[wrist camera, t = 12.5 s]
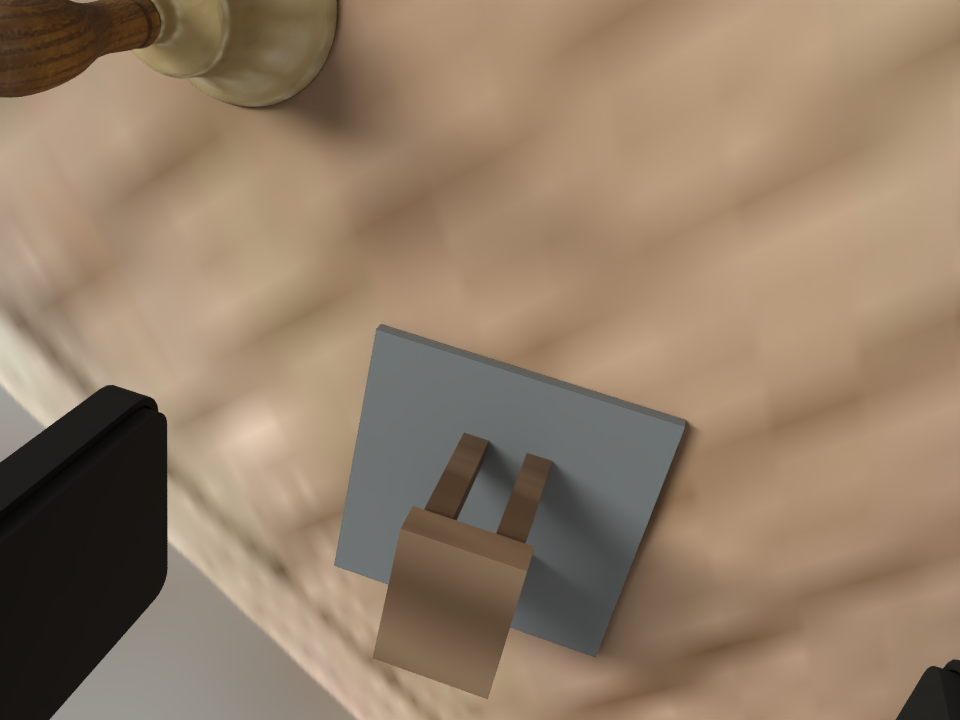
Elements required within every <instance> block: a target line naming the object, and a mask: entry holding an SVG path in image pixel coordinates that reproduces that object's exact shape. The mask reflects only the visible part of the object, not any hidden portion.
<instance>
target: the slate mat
mask: <svg viewBox="0 0 960 720" xmlns="http://www.w3.org/2000/svg"><path fill="white" fill-rule="evenodd" d="M685 423H686V420H684V419H680V418H677V417H674V416H671V415H668V414H665V413H661V412H658V411H655V410H652V409H649V408H645V407H642V406H639V405H636V404H633V403H630V402H626V401H623V400H620V399H617V398H614V397H611V396H607V395H604V394H601V393H598V392H595V391H592V390H588V389H585V388H582V387H579V386H576V385H572V384H569V383H566V382H563V381H560V380H557V379H553V378H550V377H547V376H544V375H541V374H538V373H534V372H531V371H528V370H525V369H522V368H519V367H515V366H512V365H509V364H506V363H503V362H499V361H496V360H493V359H490V358H487V357H484V356H480V355H477V354H474V353H471V352H468V351H465V350H461V349H458V348H455V347H452V346H449V345H446V344H442V343H439V342H436V341H433V340H430V339H426V338H423V337H420V336H417V335H414V334H411V333H407V332H404V331H401V330H398V329H395V328H392V327H388V326H385V325H382V324H381V325H380V326H379V327H378V328H377V329H376V334H375V339H374V345H373V350H372V356H371V362H370V367H369V373H368V379H367V384H366V390H365V395H364V401H363V407H362V412H361V418H360V423H359V429H358V435H357V440H356V446H355V451H354V457H353V463H352V468H351V474H350V479H349V485H348V491H347V496H346V502H345V507H344V513H343V519H342V524H341V530H340V536H339V541H338V547H337V552H336V558H335V564H334V566H337V567H340V568H343V569H345V570H348V571H351V572H354V573H357V574H360V575H362V576H365V577H368V578H371V579H374V580H377V581H380V582H382V583H385V584H388V585H389V580H390V575H391V571H392V566H393V561H394V557H395V552H396V547H397V542H398V538H399V533H400V528H401V527H402V525H403V523H404V521H405V519H406V517H407V516H408V514H409V512H410V510H411V508H412V506H415V507H418V508H420V509H423V510H424V508H425V506H426V505H427V503H428V501H429V499H430V497H431V495H432V493H433V491H434V489H435V487H436V485H437V483H438V481H439V480H440V478H441V476H442V474H443V472H444V470H445V468H446V466H447V464H448V462H449V460H450V458H451V456H452V454H453V453H454V451H455V449H456V447H457V445H458V443H459V441H460V439H461V437H462V435H463V433H467V434H470V435H473V436H476V437H479V438H482V439H486V440H489V442H488V446H487V450H486V454H485V458H484V462H483V464H482V466H481V468H480V471H479V473H478V475H477V477H476V479H475V482H474V484H473V486H472V488H471V490H470V492H469V495H468V497H467V499H466V501H465V503H464V506H463V508H462V510H461V512H460V514H459V517H458V519H457V521H459V522H462V523H465V524H468V525H471V526H474V527H477V528H480V529H483V530H486V531H489V532H492V533H495V534H496V532H497V529H498V527H499V524H500V522H501V519H502V516H503V514H504V511H505V509H506V506H507V503H508V501H509V498H510V496H511V493H512V490H513V488H514V485H515V482H516V480H517V477H518V475H519V472H520V469H521V467H522V464H523V462H524V459H525V456H526V454H527V453H529V454H532V455H535V456H538V457H542V458H545V459H548V460H551V461H552V464H551V467H550V470H549V474H548V477H547V480H546V484H545V487H544V490H543V493H542V496H541V499H540V502H539V505H538V508H537V511H536V514H535V517H534V520H533V523H532V526H531V529H530V532H529V535H528V538H527V541H526V544H528V545H531V546H534V547H535V548H534V551H533V554H532V558H531V561H530V564H529V567H528V571H527V574H526V577H525V580H524V583H523V587H522V590H521V593H520V596H519V600H518V603H517V606H516V609H515V613H514V616H513V619H512V622H511V625H510V627H511V628H513V629H516V630H519V631H522V632H525V633H528V634H531V635H533V636H536V637H539V638H542V639H545V640H548V641H551V642H553V643H556V644H559V645H562V646H565V647H568V648H570V649H573V650H576V651H579V652H582V653H585V654H588V655H590V656H593V657H596V655H597V652H598V650H599V647H600V645H601V642H602V639H603V637H604V634H605V632H606V629H607V627H608V624H609V621H610V619H611V616H612V614H613V611H614V609H615V606H616V603H617V601H618V598H619V596H620V593H621V591H622V588H623V585H624V583H625V580H626V578H627V575H628V573H629V570H630V567H631V565H632V562H633V560H634V557H635V555H636V552H637V549H638V547H639V544H640V542H641V539H642V537H643V534H644V531H645V529H646V526H647V524H648V521H649V519H650V516H651V513H652V511H653V508H654V506H655V503H656V501H657V498H658V495H659V493H660V490H661V488H662V485H663V483H664V480H665V478H666V475H667V472H668V470H669V467H670V465H671V462H672V460H673V457H674V454H675V452H676V449H677V447H678V444H679V442H680V439H681V436H682V434H683V431H684V429H685Z"/></svg>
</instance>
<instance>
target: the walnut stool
mask: <svg viewBox="0 0 960 720" xmlns="http://www.w3.org/2000/svg"><path fill="white" fill-rule="evenodd" d="M488 442H489V440H486V439H482V438H479V437H476V436H473V435H470V434H467V433H463V435H462V437H461V439H460V441H459V443H458V445H457V447H456V449H455V451H454V453H453V454H452V456H451V458H450V460H449V462H448V464H447V466H446V468H445V470H444V472H443V474H442V476H441V478H440V480H439V481H438V483H437V485H436V487H435V489H434V491H433V493H432V495H431V497H430V499H429V501H428V503H427V505H426V506H425V508H424V510H423V509H420V508H418V507H415V506H412V508H411V510H410V512H409V514H408V516H407V517H406V519H405V521H404V523H403V525H402V527H401V528H400V533H399V538H398V542H397V547H396V552H395V557H394V561H393V566H392V571H391V575H390V580H389V585H388V589H387V594H386V599H385V604H384V608H383V613H382V618H381V622H380V627H379V632H378V636H377V641H376V646H375V650H374V655H373V658H374V659H377V660H380V661H383V662H385V663H388V664H391V665H394V666H396V667H399V668H402V669H405V670H408V671H410V672H413V673H416V674H419V675H422V676H424V677H427V678H430V679H433V680H436V681H438V682H441V683H444V684H447V685H450V686H452V687H455V688H458V689H461V690H464V691H466V692H469V693H472V694H475V695H478V696H480V697H483V698H486V699H488V696H489V693H490V690H491V687H492V683H493V680H494V677H495V674H496V671H497V667H498V664H499V661H500V658H501V655H502V651H503V648H504V645H505V642H506V638H507V635H508V632H509V629H510V625H511V622H512V619H513V616H514V613H515V609H516V606H517V603H518V600H519V596H520V593H521V590H522V587H523V583H524V580H525V577H526V574H527V571H528V567H529V564H530V561H531V558H532V554H533V551H534V548H535V547H534V546H531V545H528V544H526V541H527V538H528V535H529V532H530V529H531V526H532V523H533V520H534V517H535V514H536V511H537V508H538V505H539V502H540V499H541V496H542V493H543V490H544V487H545V484H546V480H547V477H548V474H549V470H550V467H551V464H552V461H551V460H548V459H545V458H542V457H538V456H535V455H532V454H529V453H527V454H526V456H525V459H524V462H523V464H522V467H521V469H520V472H519V475H518V477H517V480H516V482H515V485H514V488H513V490H512V493H511V496H510V498H509V501H508V503H507V506H506V509H505V511H504V514H503V516H502V519H501V522H500V524H499V527H498V529H497V532H496V534H495V533H492V532H489V531H486V530H483V529H480V528H477V527H474V526H471V525H468V524H465V523H462V522H459V521H457V519H458V517H459V514H460V512H461V510H462V508H463V506H464V503H465V501H466V499H467V497H468V495H469V492H470V490H471V488H472V486H473V484H474V482H475V479H476V477H477V475H478V473H479V471H480V468H481V466H482V464H483V462H484V458H485V454H486V450H487V446H488Z"/></svg>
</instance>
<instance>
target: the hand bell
mask: <svg viewBox="0 0 960 720" xmlns="http://www.w3.org/2000/svg"><path fill="white" fill-rule="evenodd" d="M336 21H337V0H98V1H94V2H90V3H76V2H73V1H70V0H0V97H22V96H28V95H32V94H36V93H40V92H43V91H46V90H49V89H52V88H54V87H57V86H59V85H61V84H63V83H65V82H67V81H69V80H71V79H73V78H75V77H76V76H78V75H79V74H81V73H82V72H83V71H85V70H86V69H87V68H88V67H89V66H90V65H91V64H92V63H93V62H94V61H95V60H96V59H97V58H98V57H100V56H103V55H106V54H109V53H115V52H122V51H128V50H131V51H132V52H133V53H134V54H135V55H136V56H137V57H138V58H139V59H140V60H141V61H142V62H143V63H144V64H146V65H147V66H148V67H150V68H151V69H153V70H155V71H156V72H159V73H161V74H163V75H166V76H170V77H175V78H185V79H187V80H188V81H189V82H190V83H191V84H192V85H194V86H195V87H197V88H198V89H200V90H201V91H203V92H204V93H206V94H208V95H210V96H212V97H214V98H216V99H218V100H221V101H224V102H227V103H230V104H234V105H239V106H247V107H258V106H269V105H273V104H277V103H279V102H281V101H284V100H287V99H289V98H291V97H292V96H294V95H295V94H297V93H298V92H300V91H301V90H303V89H304V88H305V87H306V86H307V85H308V84H309V83H310V82H311V81H312V80H313V79H314V78H315V77H316V75H317V74H318V73H319V71H320V70H321V68H322V66H323V65H324V63H325V61H326V59H327V57H328V54H329V52H330V49H331V46H332V43H333V40H334V35H335V29H336Z"/></svg>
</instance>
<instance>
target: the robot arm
mask: <svg viewBox="0 0 960 720" xmlns="http://www.w3.org/2000/svg"><path fill="white" fill-rule="evenodd" d="M166 575H167V420H166V417H165V415H164V414H162V413H160V412H158V406H157V404H156V402H155V400H154V399H152V398H151V397H148V396H145V395H142V394H139V393H136V392H133V391H130V390H126V389H123V388H120V387H117V386H114V385H107V386H105V387H103V388H101V389H100V390H98V391H97V392H95V393H94V394H93V395H91V396H90V397H89V398H87V399H86V400H85V401H83V402H82V403H81V404H79V405H78V406H76V407H75V408H74V409H72V410H71V411H70V412H68V413H67V414H66V415H64V416H63V417H62V418H60V419H59V420H57V421H56V422H55V423H53V424H52V425H51V426H49V427H48V428H47V429H45V430H44V431H42V432H41V433H40V434H38V435H37V436H36V437H35V438H33V439H32V440H30V441H29V442H28V443H26V444H25V445H24V446H22V447H21V448H19V449H18V450H17V451H15V452H14V453H13V454H12V455H10V456H9V457H7V458H6V459H5V460H3V461H2V462H0V720H49V719H50V718H51V717H52V716H53V715H54V714H55V712H56V711H57V710H58V709H59V708H60V707H61V706H62V705H63V704H64V702H65V701H66V700H67V699H68V698H69V697H70V695H71V694H72V693H73V692H74V691H75V690H76V689H77V688H78V686H79V685H80V684H81V683H82V682H83V681H84V679H85V678H86V677H87V676H88V675H89V674H90V673H91V672H92V670H93V669H94V668H95V667H96V666H97V665H98V664H99V662H100V661H101V660H102V659H103V658H104V657H105V656H106V654H107V653H108V652H109V651H110V650H111V649H112V648H113V646H114V645H115V644H116V643H117V642H118V641H119V640H120V639H121V637H122V636H123V635H124V634H125V633H126V632H127V631H128V629H129V628H130V627H131V626H132V625H133V624H134V623H135V621H136V620H137V619H138V618H139V617H140V616H141V614H142V613H143V612H144V611H145V610H146V609H147V608H148V607H149V605H150V604H151V603H152V602H153V601H154V600H155V598H156V597H157V596H158V594H159V593H160V591H161V589H162V587H163V585H164V582H165V579H166ZM896 720H960V660H952V661H950V662H948V663H947V664H946V666H945V667H944V668H943V669H942V668H939V667H936V666H931V667H929V668H928V669H927V670H926V671H925V672H924V674H923V675H922V677H921V679H920V680H919V682H918V684H917V685H916V687H915V689H914V690H913V692H912V694H911V695H910V697H909V699H908V700H907V702H906V704H905V705H904V707H903V709H902V710H901V712H900V714H899V715H898V717H897V719H896Z"/></svg>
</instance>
